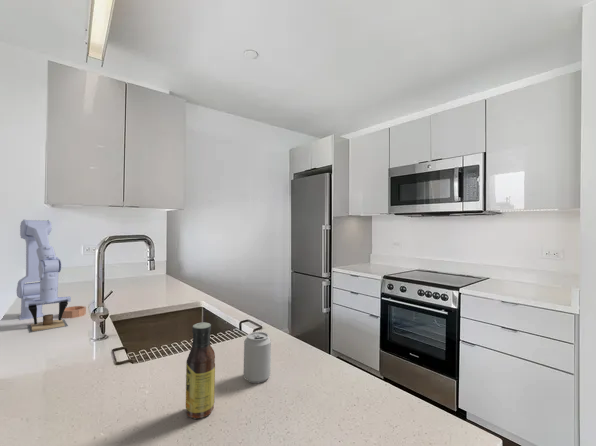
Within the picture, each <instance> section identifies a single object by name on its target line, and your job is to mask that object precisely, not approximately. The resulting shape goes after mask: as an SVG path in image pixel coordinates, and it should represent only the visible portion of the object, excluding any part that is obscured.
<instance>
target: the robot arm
mask: <svg viewBox="0 0 596 446" xmlns="http://www.w3.org/2000/svg"><path fill="white" fill-rule="evenodd" d="M19 225H20V226H19V228H20V229H19V235H20V238H21V239H23V240H25V276H23V277H22V278H21V279H19V280H18V282H17V285H16V296H17V297H18V299H20V300H21V305H20V314H19V315H18V318H19V320H20V321H24V320H31V319H33V323H34V324H37V323H38V318H43V316H44V315H45V314H44V313H43V305H53V304H58V316H57V317H58V319H57V320H61V319H63V318H62V315H63V312H64V310H65V308H67V307H68V304H69V303H70V302H72V296H58V293H59V273H60V272H61V270H62V260H61V259H60V258H59V257H58V256H56V252H55V249H54V246H53V245H50V240H49V235H50V233H51V231H52V230H53V229H52V227H53V225H52V222H51V221H50V220H49V219H48V220H40V219H38V220H36V219H35V220H34V219H33V220H32V219H22V221H21V222H20V224H19Z"/></svg>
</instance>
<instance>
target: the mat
mask: <svg viewBox="0 0 596 446" xmlns="http://www.w3.org/2000/svg"><path fill="white" fill-rule="evenodd" d="M62 321H63V322H64V324H65V326H62V327H56V328H50V329H44V330H38V331H33V332H32V328H31V324H28V325H26V327H27V330H28V333H29V334H31V333H37V332H42V331H47V330H54V329H55V330H56V329H59V328H67V327H69V325H68V323H67V322H66V320H65V319H62Z"/></svg>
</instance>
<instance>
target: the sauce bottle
mask: <svg viewBox="0 0 596 446" xmlns="http://www.w3.org/2000/svg"><path fill="white" fill-rule="evenodd" d="M191 332H192V343H191V344H192V345H191V348H190V351H189V352H188V353H189V354H188V356H187V358H186V362H185V363H186V364H185V365H186V366H185V368H186V371H185V409H186V415H187V416H188V418H192V419H202V418H206V417H207V416H209V415H211V414H212V412H213V410H214V408H215V406H214V405H215V404H214V403H215V395H216V393H215V386H216V379H215V378H216V363H215V361H216V354H215V350H214V349H213V347H212V346H211V344H210V343H211V332H212V324H211V323H209V322H198V323H195V324H194V323H193V325H192V331H191Z"/></svg>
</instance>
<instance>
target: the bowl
mask: <svg viewBox="0 0 596 446" xmlns="http://www.w3.org/2000/svg"><path fill="white" fill-rule="evenodd" d="M86 314H87V307H86V306H85V305H73V306H67V307H66V308H65V310H64V312H63V315H62V318H61V319H74V318H79V317H83V316H85V315H86Z"/></svg>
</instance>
